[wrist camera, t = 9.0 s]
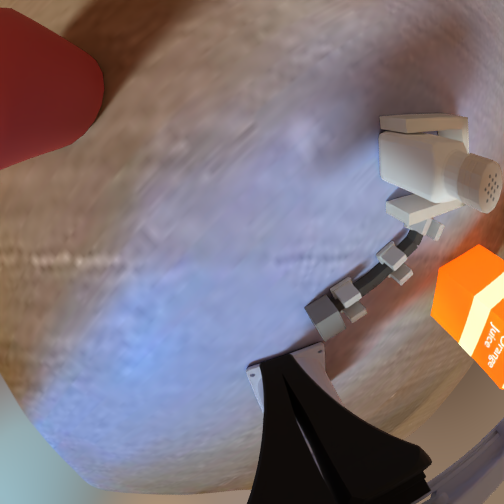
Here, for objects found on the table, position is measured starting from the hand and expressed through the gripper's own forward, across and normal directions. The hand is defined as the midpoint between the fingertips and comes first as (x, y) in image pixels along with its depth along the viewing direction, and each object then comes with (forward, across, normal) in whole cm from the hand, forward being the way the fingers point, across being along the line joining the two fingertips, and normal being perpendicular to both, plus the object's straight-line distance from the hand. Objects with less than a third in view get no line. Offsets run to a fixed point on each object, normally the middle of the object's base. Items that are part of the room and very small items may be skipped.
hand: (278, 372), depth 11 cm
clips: (+10, -13, +4) cm, 17 cm away
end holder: (+10, -17, -4) cm, 20 cm away
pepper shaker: (+11, -14, -5) cm, 18 cm away
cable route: (+10, -12, +4) cm, 16 cm away
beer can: (+10, +8, -14) cm, 20 cm away
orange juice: (+11, -26, +12) cm, 31 cm away
